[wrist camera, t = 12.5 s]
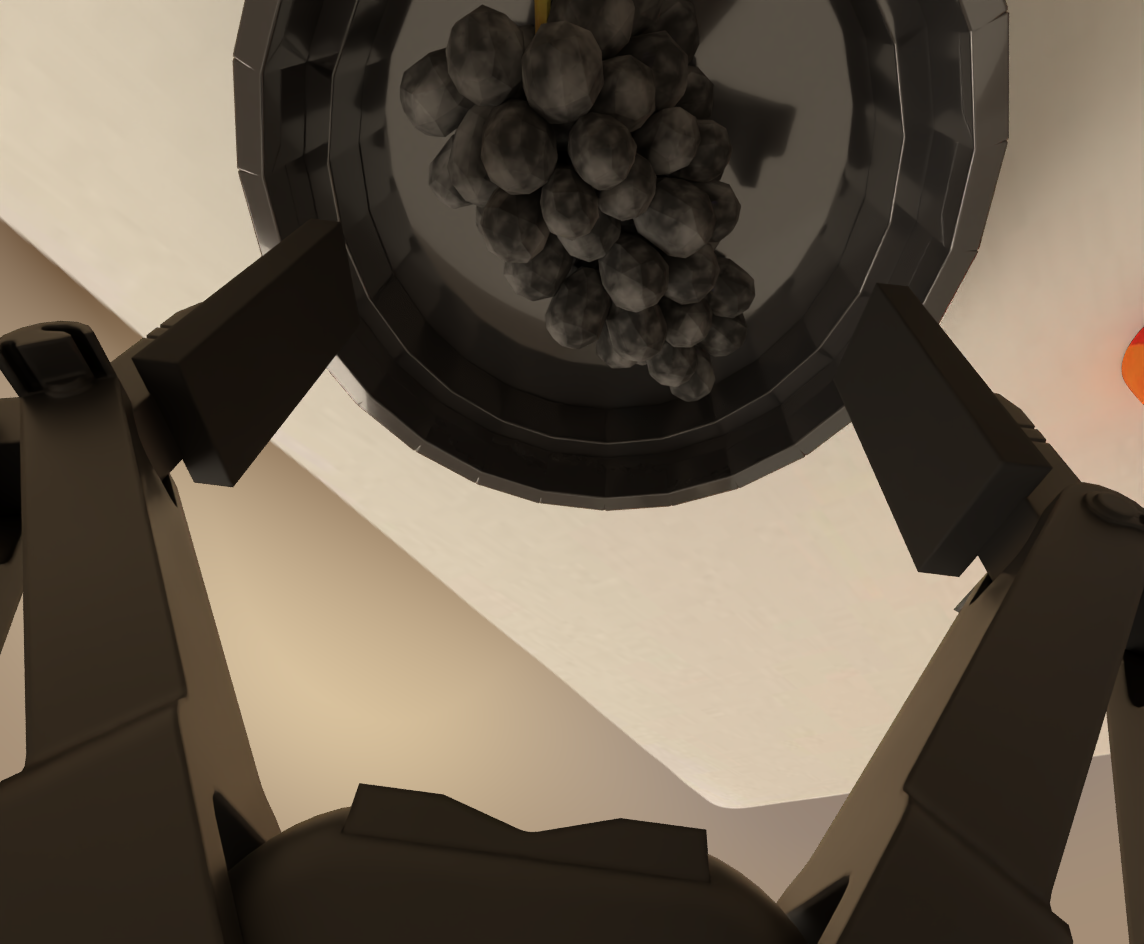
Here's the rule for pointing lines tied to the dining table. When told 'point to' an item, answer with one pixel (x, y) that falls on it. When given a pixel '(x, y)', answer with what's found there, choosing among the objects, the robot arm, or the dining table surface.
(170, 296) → the dining table surface
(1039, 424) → the dining table surface
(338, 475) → the dining table surface
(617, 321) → the fruit
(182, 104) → the dining table surface
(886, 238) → the bowl
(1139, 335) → the paper cup
